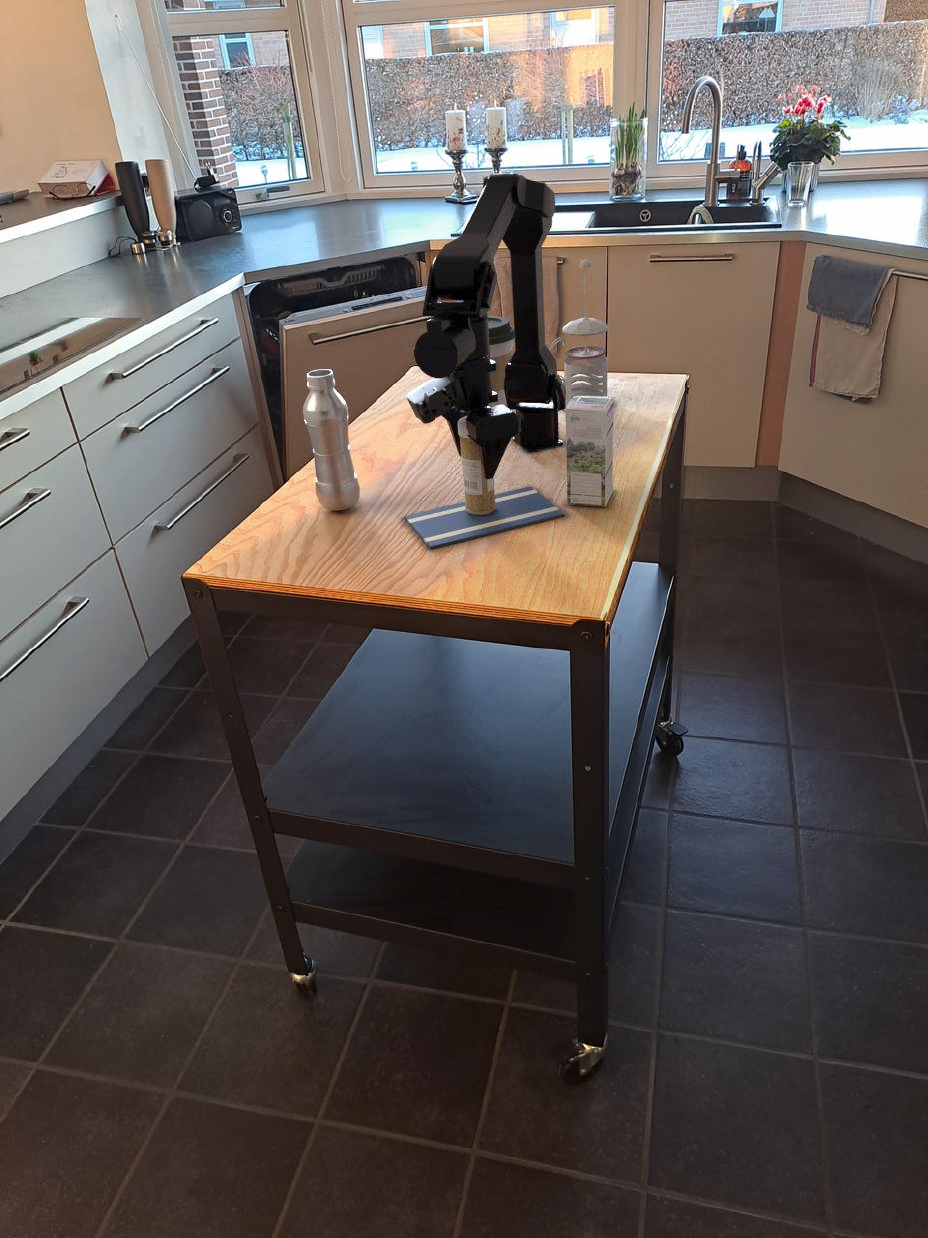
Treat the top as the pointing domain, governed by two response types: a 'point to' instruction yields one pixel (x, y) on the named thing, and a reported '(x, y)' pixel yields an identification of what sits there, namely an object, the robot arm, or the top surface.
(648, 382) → the top surface
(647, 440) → the top surface
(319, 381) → the silver water bottle
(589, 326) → the french press
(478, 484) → the sprinkles bottle
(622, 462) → the top surface
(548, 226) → the robot arm
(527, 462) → the top surface
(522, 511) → the tea towel
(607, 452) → the syrup box
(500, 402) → the coffee cup
